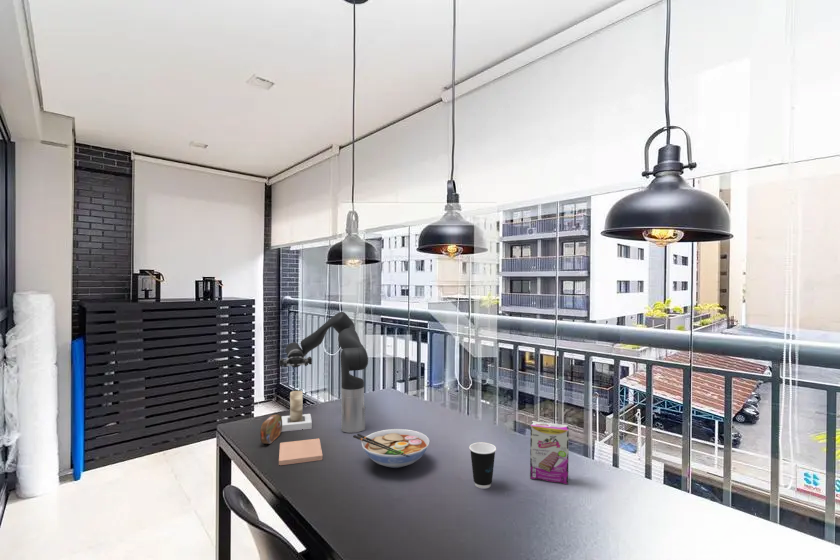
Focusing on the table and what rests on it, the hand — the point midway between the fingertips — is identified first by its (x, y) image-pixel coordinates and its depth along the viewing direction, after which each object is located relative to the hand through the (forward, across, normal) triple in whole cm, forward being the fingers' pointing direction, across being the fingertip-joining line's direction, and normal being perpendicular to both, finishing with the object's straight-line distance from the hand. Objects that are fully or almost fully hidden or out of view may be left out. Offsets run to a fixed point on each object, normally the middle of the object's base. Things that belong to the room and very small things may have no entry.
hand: (296, 364), depth 182 cm
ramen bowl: (+59, +31, +23) cm, 71 cm away
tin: (+25, -9, +24) cm, 35 cm away
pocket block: (+11, 0, +23) cm, 26 cm away
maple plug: (+11, 0, +24) cm, 26 cm away
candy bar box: (+84, +73, +23) cm, 114 cm away
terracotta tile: (+41, +1, +23) cm, 47 cm away
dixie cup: (+81, +52, +23) cm, 99 cm away
